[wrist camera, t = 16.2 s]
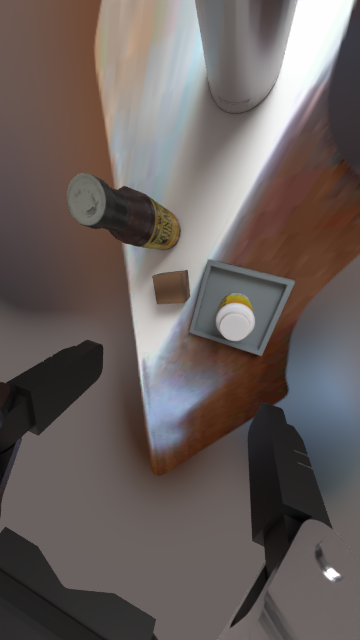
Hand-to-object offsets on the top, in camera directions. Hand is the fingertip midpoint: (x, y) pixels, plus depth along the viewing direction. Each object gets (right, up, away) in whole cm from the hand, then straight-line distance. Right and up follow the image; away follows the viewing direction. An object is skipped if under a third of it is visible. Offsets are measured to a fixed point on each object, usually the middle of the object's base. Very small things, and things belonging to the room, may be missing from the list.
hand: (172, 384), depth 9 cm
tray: (+11, +6, +26) cm, 29 cm away
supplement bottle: (+10, +5, +26) cm, 28 cm away
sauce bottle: (-2, +19, +25) cm, 32 cm away
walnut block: (0, +10, +28) cm, 30 cm away
